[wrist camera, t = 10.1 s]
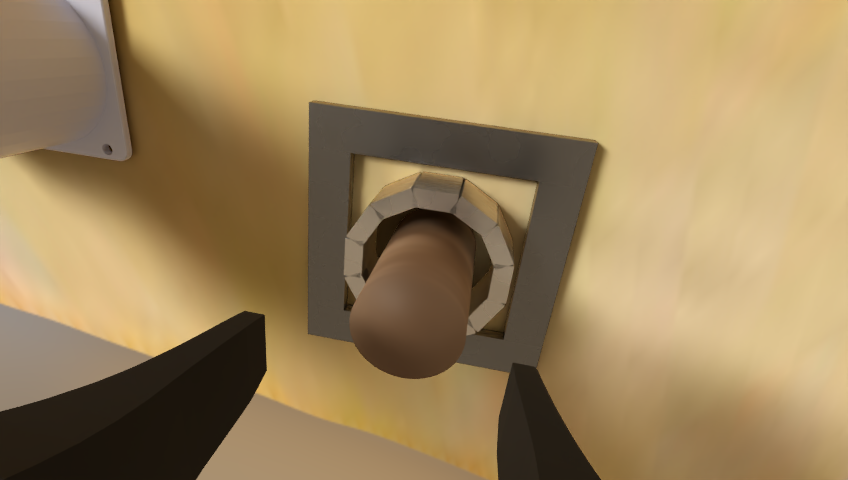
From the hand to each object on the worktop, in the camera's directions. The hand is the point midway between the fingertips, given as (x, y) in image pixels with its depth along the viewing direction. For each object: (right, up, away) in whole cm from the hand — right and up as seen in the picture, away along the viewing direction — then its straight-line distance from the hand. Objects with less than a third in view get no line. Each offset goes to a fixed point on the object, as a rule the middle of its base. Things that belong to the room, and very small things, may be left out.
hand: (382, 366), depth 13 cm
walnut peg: (+2, +3, +9) cm, 9 cm away
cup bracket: (+2, +3, +9) cm, 9 cm away
